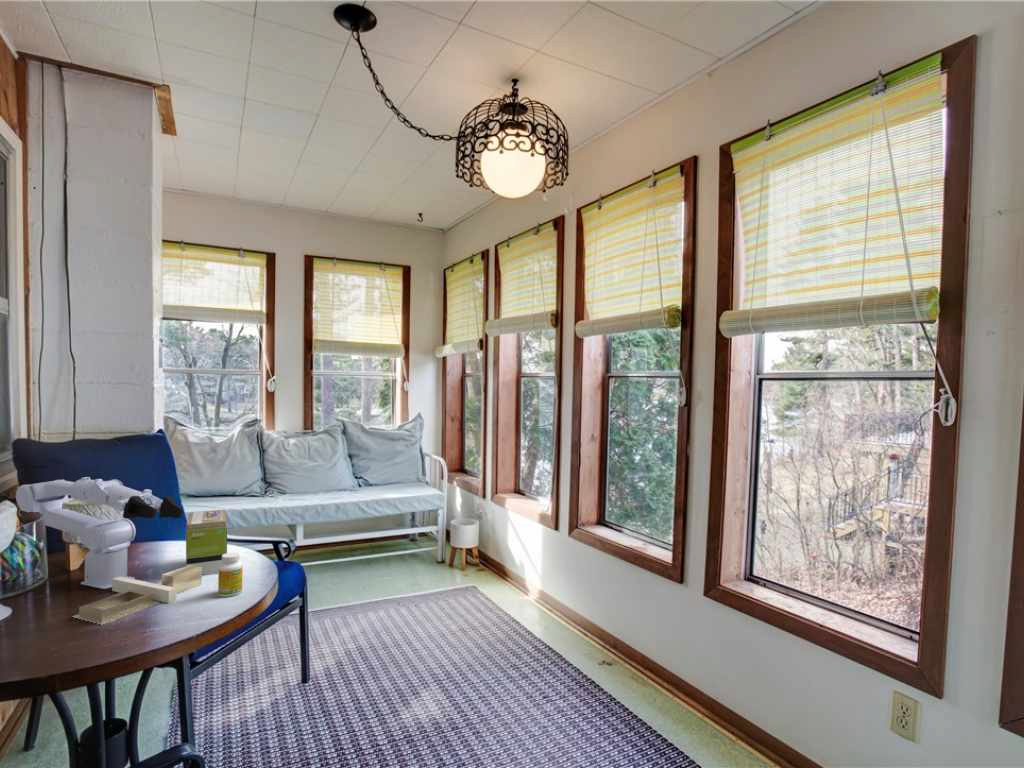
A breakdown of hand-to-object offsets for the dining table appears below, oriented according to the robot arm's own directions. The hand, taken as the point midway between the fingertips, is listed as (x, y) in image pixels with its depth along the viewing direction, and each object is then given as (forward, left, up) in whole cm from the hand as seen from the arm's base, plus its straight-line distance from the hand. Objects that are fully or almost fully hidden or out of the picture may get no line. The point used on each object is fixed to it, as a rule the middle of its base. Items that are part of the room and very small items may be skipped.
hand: (168, 514), depth 140 cm
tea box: (-8, +18, -20) cm, 29 cm away
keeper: (-1, -12, -20) cm, 23 cm away
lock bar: (+1, +3, -20) cm, 20 cm away
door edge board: (-4, -3, -20) cm, 21 cm away
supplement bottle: (+14, +6, -20) cm, 25 cm away
